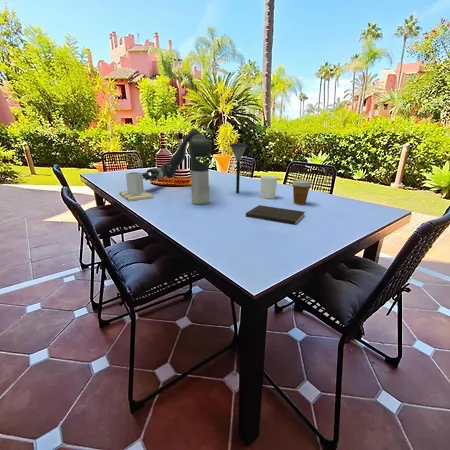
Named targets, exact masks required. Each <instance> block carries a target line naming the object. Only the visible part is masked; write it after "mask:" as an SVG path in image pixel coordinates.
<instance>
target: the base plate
mask: <svg viewBox="0 0 450 450" xmlns="http://www.w3.org/2000/svg"><path fill="white" fill-rule="evenodd" d="M127 192H128V190H126V191H125V190H124V191H119V195H120V196H121V197H123V199H125V200H127V201H128V202H133V201H134V202H135V201H142V200H149V199H155V196H154V195H153V194H151V193H150V192H148V191H147V193H145V194H142V195H139V196H133V195H125V193H127Z"/></svg>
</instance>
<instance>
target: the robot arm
mask: <svg viewBox="0 0 450 450" xmlns="http://www.w3.org/2000/svg"><path fill="white" fill-rule="evenodd" d="M188 143H189V155H190V179H191V180H190V182H191V184H190V185H191V186H190V187H191V203H192V204H194V205H207V204H210V184H209V179H210V178H209V177H210V175H209V174H210V173H209V170H210V169H209V165H208V164H207V163H204V162H201V161H199V160H198V158H208V157H210V155H211V154H212V143H211V141H210V140H209V138H206V136H205V135H204V134H203V133H201V132H200V131H199V130H198V129H197V128H195V127H194V128H192V129H190V130H189V132H188V133H187V135H186V136H185V138H184V139H183V141H182V142H181V144H180V146H179V147H178V149H177V151H176V152H175V153H174V155H173V156H172V157H171V158H170V159H169V163H167V162H166V163H164V164H162V165H161V166H158V167H153V168H149V169H147V170H146V172H141V173H142V178H143V180H145V181H150V182H153V181H157V180H160V179H162V178H163V179H164V178H165V177H166V178H167V179H172V178H174V177H175V175H176V173H177V170H178V169H179V166H180V165H181V164H182V163H183V161H184V160H185V157H186V151H187V149H186V148H187V146H188Z"/></svg>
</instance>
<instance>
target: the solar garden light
mask: <svg viewBox="0 0 450 450" xmlns="http://www.w3.org/2000/svg"><path fill="white" fill-rule="evenodd" d="M228 147H229V148H230V147H231V149H232V152H233V155H234V157H235V159H236V177H235V178H236V179H235V180H236V183H235V185H236V186H235V187H236V188H235V191H236V192H235V193H236V194H240V176H241V175H240V170H241V169H240V168H241V167H240V166H241V159H242V157H243V155H244V153H245V150H246V148H249V147H250V146H249V145H248V144H246V143H243V142H241V143H239V142H234V143H232V144H230V145H229V146H228Z"/></svg>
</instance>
